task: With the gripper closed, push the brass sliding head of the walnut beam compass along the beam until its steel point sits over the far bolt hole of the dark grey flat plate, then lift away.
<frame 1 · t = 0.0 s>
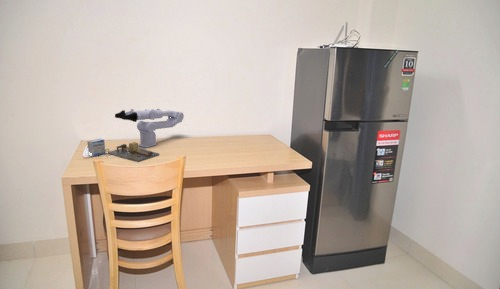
hand: (119, 116, 187), 22 cm above the table, tool horizontal, fingers open, 7 cm apart
dark grey flat plate: (133, 154, 191), on the table
medicine box: (97, 154, 188), on the table
beam: (136, 153, 192), resting on dark grey flat plate
sliding head: (131, 147, 190), point 4 cm above the table, slide at 2.0 cm
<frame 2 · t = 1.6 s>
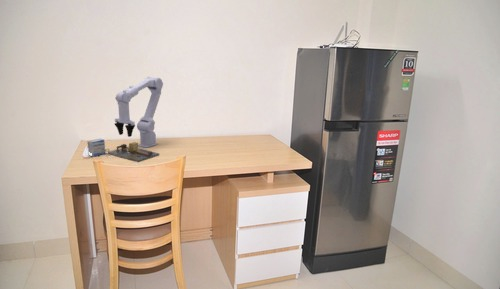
hand: (125, 135, 193), 10 cm above the table, tool pointing down, fingers open, 7 cm apart
nothing on the table moved.
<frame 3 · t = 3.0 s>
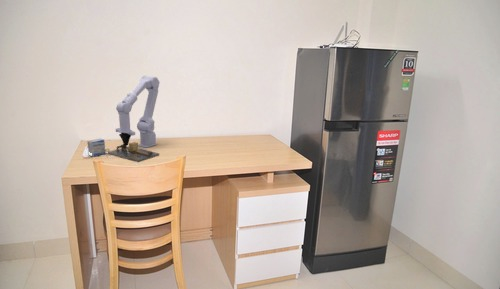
hand: (126, 145, 195), 4 cm above the table, tool pointing down, fingers closed
nothing on the table moved.
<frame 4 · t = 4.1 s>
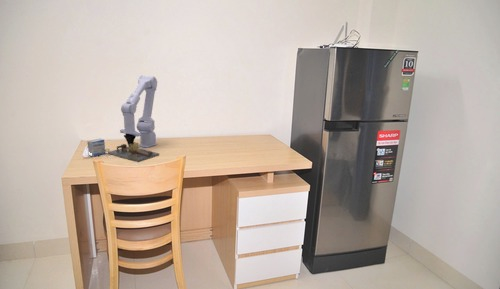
hand: (130, 146, 193), 4 cm above the table, tool pointing down, fingers closed
sliding head: (132, 147, 190), point 4 cm above the table, slide at 2.4 cm, touching gripper
everything else where it was.
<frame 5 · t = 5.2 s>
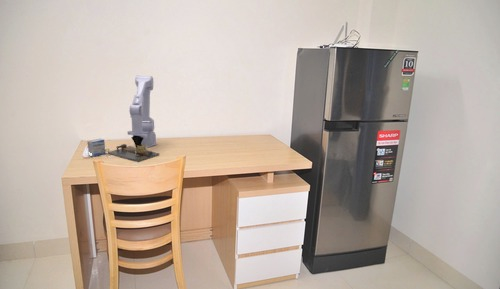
hand: (138, 148, 190), 4 cm above the table, tool pointing down, fingers closed
sliding head: (139, 149, 187), point 4 cm above the table, slide at 8.7 cm, touching gripper
everything else where it was.
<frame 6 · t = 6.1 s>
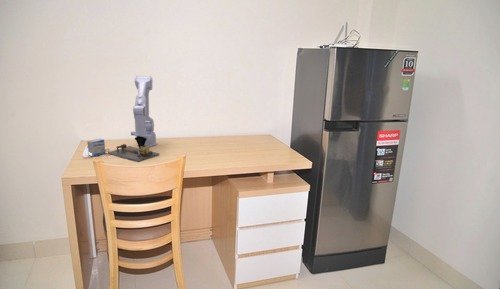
hand: (141, 149, 189), 4 cm above the table, tool pointing down, fingers closed
sliding head: (143, 150, 186), point 4 cm above the table, slide at 11.3 cm, touching gripper
everything else where it was.
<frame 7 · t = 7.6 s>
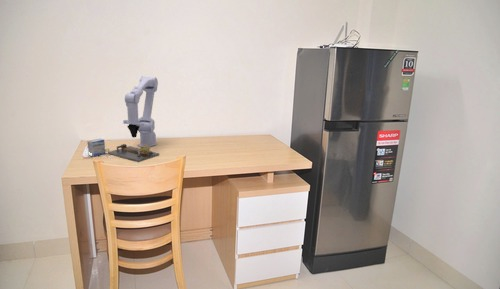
hand: (134, 137, 191), 10 cm above the table, tool pointing down, fingers closed
sliding head: (143, 150, 186), point 4 cm above the table, slide at 11.3 cm
everything else where it was.
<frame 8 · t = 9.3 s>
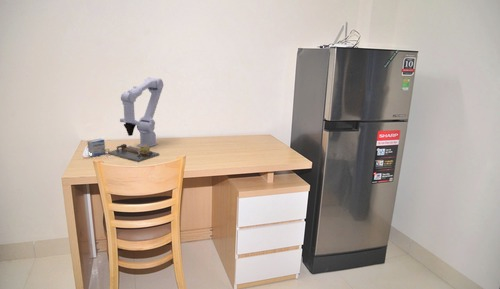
hand: (130, 135, 194), 10 cm above the table, tool pointing down, fingers closed
nothing on the table moved.
at the end: sliding head slide at 11.3 cm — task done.
